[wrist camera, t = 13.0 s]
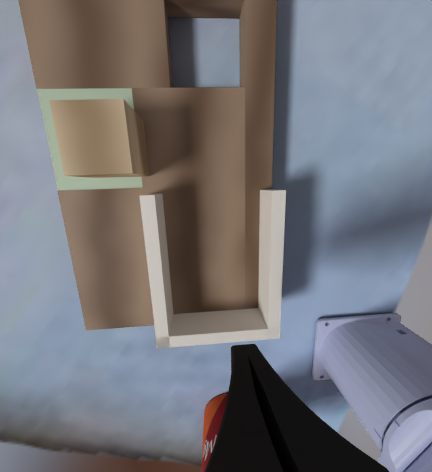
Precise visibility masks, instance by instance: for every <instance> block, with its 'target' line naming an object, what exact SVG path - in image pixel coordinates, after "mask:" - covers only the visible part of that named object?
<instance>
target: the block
mask: <svg viewBox="0 0 432 472" xmlns="http://www.w3.org/2000/svg"><path fill="white" fill-rule="evenodd" d="M49 101H50V106H51V111H52V116H53V121H54V126H55V131H56V136H57V141H58V146H59V151H60V156H61V161H62V166H63V171H64V176H74V177H88V178H117V177H144V176H149V168H148V159H147V150H146V141H145V131H144V122H143V120H142V119H141V117H140V116H139V115H138V114H137V113H136V112H135V111H134V110H133V109H132V108H131V107H130V105H129V104H128V103H127V102H126V101H125V100H124V99H88V100H49Z"/></svg>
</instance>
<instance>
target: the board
mask: <svg viewBox="0 0 432 472" xmlns="http://www.w3.org/2000/svg"><path fill="white" fill-rule="evenodd" d="M18 1H19V5H20V10H21V15H22V20H23V25H24V30H25V35H26V39H27V44H28V49H29V54H30V59H31V64H32V69H33V74H34V78H35V83H36V88H37V89H87V88H132V97H133V105H134V111H135V112H136V113H137V114H138V115H139V116H140V117H141V119H142V120H143V122H144V131H145V141H146V150H147V159H148V168H149V176H144V177H142V185H143V188H123V189H94V190H65V191H58V195H59V200H60V205H61V210H62V215H63V220H64V225H65V229H66V234H67V239H68V244H69V249H70V254H71V259H72V263H73V268H74V273H75V278H76V283H77V288H78V293H79V298H80V302H81V307H82V312H83V317H84V322H85V327H86V330H96V329H109V328H123V327H136V326H149V325H154V317H153V308H152V300H151V291H150V283H149V274H148V266H147V257H146V249H145V240H144V232H143V223H142V215H141V206H140V197H139V196H140V195H146V194H163V205H164V216H165V227H166V238H167V249H168V260H169V271H170V282H171V293H172V303H173V314H183V313H197V312H211V311H225V310H239V309H252V308H258V293H259V225H260V190H271V189H272V165H273V128H274V92H275V55H276V19H277V0H18ZM168 17H185V18H240V87H206V88H173V84H172V70H171V56H170V42H169V28H168Z"/></svg>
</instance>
